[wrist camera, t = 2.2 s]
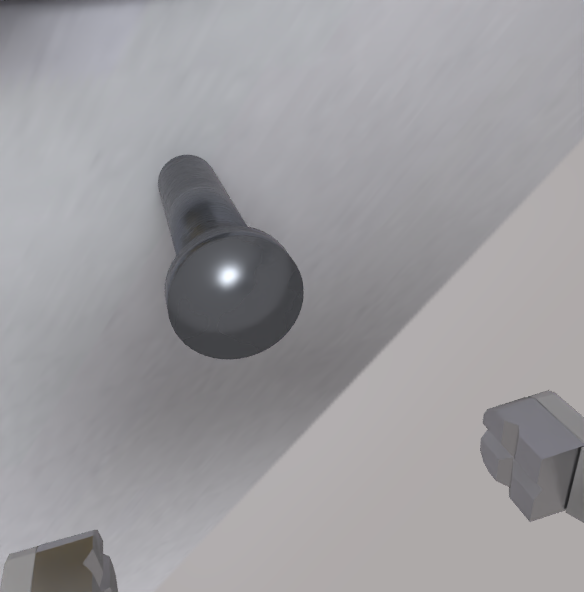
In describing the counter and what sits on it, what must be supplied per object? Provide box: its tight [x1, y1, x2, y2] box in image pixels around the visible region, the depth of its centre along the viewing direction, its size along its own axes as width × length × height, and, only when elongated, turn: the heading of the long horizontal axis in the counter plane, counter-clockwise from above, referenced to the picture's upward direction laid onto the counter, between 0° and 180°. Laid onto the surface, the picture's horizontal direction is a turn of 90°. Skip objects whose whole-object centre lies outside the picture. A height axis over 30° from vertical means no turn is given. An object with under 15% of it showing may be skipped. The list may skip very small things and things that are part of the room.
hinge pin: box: [158, 155, 303, 359], centre depth 23 cm, size 4×4×13 cm
